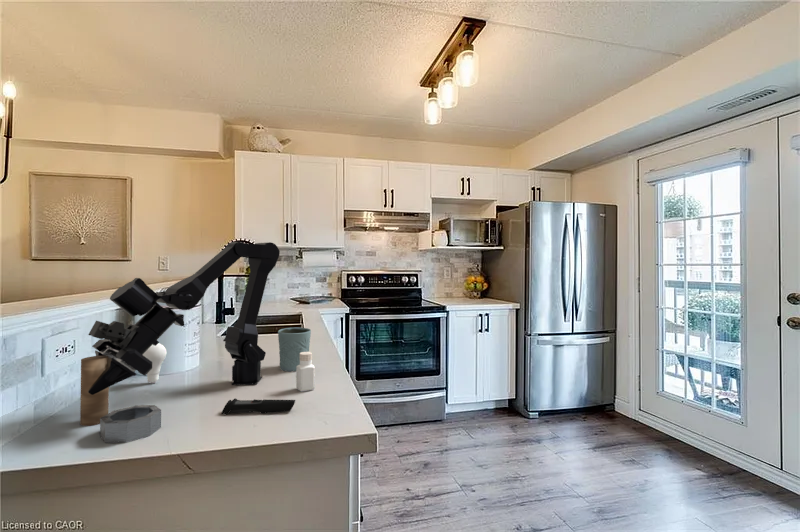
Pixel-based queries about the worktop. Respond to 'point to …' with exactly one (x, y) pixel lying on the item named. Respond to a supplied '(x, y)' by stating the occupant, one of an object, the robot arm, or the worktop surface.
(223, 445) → the worktop surface
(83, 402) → the wooden peg
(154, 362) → the lightbulb
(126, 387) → the worktop surface
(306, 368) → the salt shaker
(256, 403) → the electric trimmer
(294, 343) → the teal plant pot
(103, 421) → the gray faceted open holder
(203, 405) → the worktop surface
